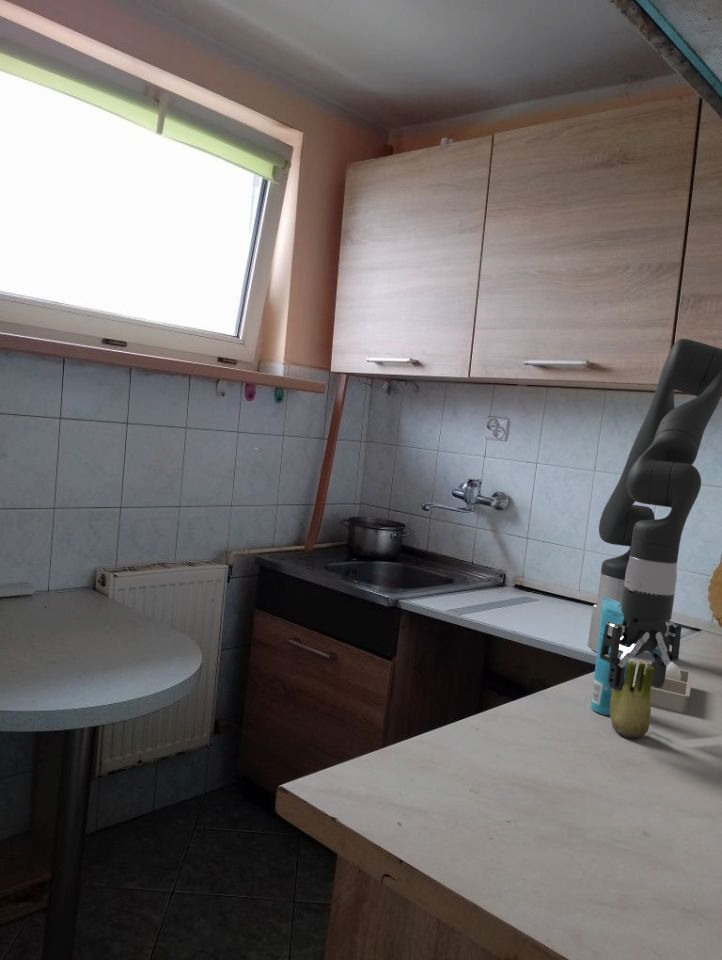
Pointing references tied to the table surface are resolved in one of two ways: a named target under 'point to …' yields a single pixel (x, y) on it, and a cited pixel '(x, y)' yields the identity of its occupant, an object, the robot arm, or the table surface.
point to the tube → (601, 685)
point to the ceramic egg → (673, 672)
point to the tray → (672, 693)
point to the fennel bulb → (632, 702)
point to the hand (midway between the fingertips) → (635, 687)
